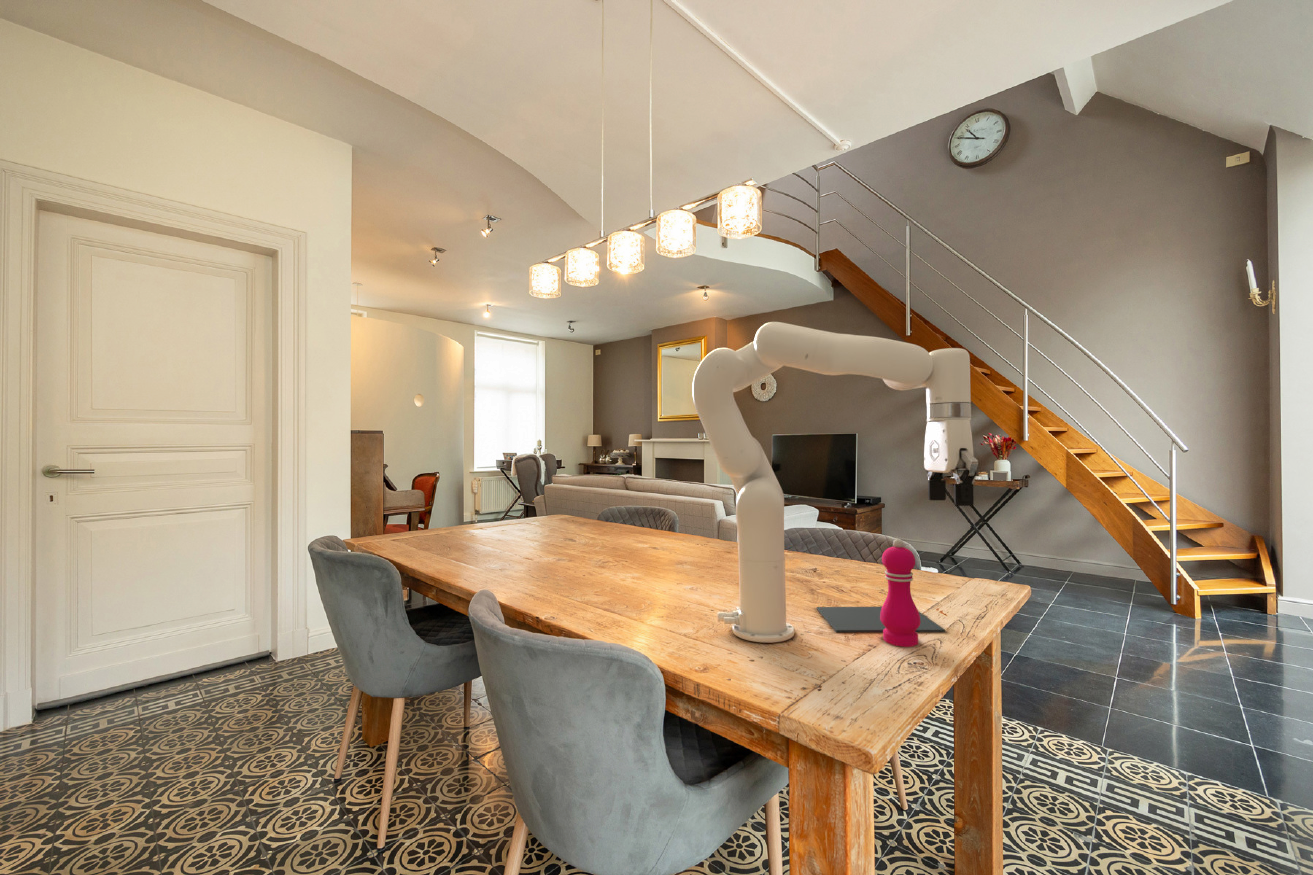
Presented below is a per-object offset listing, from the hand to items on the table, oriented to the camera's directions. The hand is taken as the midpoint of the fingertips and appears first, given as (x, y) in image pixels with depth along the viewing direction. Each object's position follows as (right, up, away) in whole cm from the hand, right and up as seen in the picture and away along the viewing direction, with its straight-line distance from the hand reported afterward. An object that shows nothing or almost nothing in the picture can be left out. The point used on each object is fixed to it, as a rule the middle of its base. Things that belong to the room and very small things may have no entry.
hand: (950, 502), depth 103 cm
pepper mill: (-9, -28, +2) cm, 29 cm away
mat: (-8, -28, +15) cm, 33 cm away
